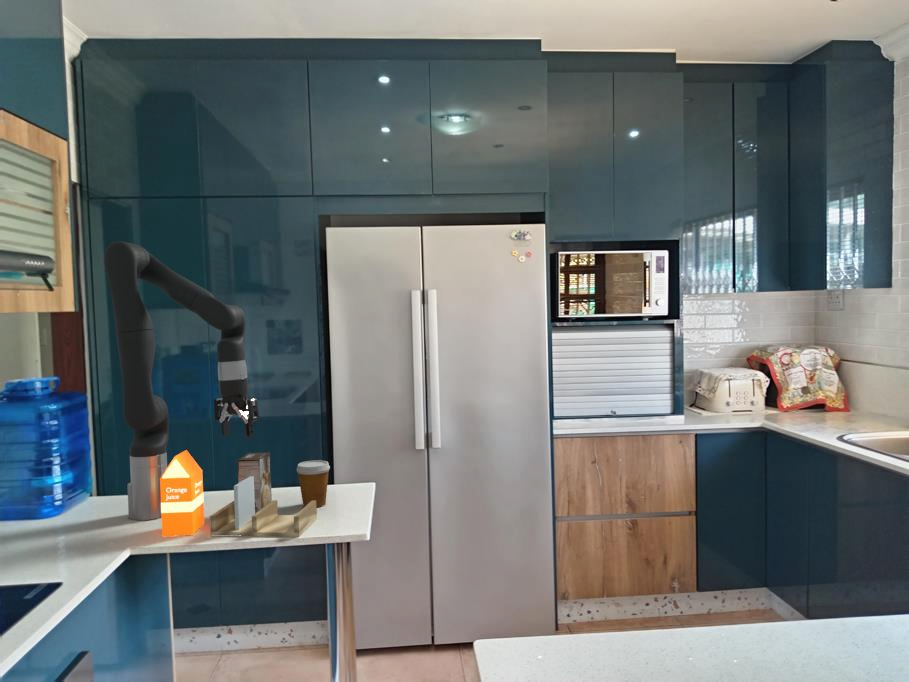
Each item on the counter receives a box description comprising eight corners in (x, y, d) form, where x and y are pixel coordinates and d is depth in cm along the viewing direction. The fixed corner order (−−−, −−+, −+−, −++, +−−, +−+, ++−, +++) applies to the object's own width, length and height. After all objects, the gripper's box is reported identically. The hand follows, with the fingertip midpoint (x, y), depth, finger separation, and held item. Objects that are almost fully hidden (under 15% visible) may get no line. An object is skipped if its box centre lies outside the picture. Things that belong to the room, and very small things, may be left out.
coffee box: (250, 508, 183) (248, 452, 183) (272, 508, 183) (270, 451, 183) (238, 518, 174) (236, 459, 174) (262, 518, 174) (260, 459, 174)
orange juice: (204, 524, 170) (202, 448, 169) (193, 535, 161) (190, 455, 160) (174, 525, 169) (171, 450, 169) (161, 536, 160) (158, 457, 160)
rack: (210, 535, 160) (210, 516, 160) (235, 518, 174) (234, 500, 174) (299, 536, 158) (298, 516, 158) (316, 519, 172) (316, 500, 172)
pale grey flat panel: (235, 529, 162) (233, 486, 161) (251, 517, 172) (250, 476, 171) (239, 529, 162) (237, 486, 161) (255, 517, 172) (253, 476, 171)
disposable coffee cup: (327, 509, 181) (326, 467, 180) (293, 510, 181) (292, 467, 180) (334, 500, 190) (333, 459, 190) (302, 500, 190) (300, 460, 190)
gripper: (203, 379, 176) (208, 438, 177) (241, 378, 170) (246, 439, 171) (224, 376, 183) (229, 432, 184) (262, 375, 176) (267, 434, 177)
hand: (238, 436), depth 177 cm, fingers open, 8 cm apart
